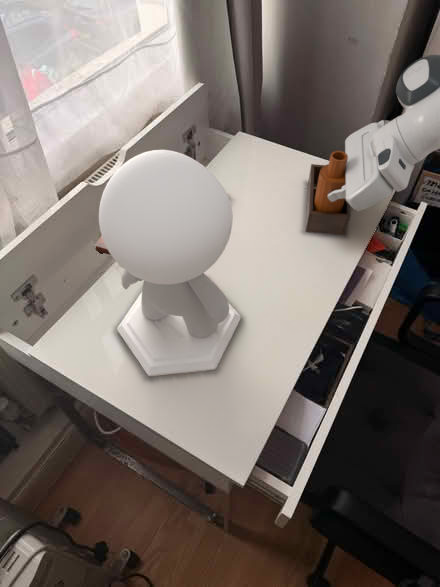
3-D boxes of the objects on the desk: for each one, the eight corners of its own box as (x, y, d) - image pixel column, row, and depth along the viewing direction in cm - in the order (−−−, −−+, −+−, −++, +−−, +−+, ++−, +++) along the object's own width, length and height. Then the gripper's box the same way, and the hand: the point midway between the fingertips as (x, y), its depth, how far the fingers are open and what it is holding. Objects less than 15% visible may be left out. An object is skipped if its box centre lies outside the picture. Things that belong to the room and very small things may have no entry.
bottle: (339, 209, 97) (355, 147, 84) (339, 228, 93) (355, 167, 80) (312, 206, 98) (323, 145, 85) (311, 225, 94) (322, 164, 81)
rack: (343, 186, 102) (348, 166, 98) (344, 235, 93) (350, 216, 89) (307, 183, 103) (311, 164, 99) (305, 231, 94) (309, 213, 90)
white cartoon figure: (252, 295, 84) (263, 138, 56) (201, 398, 72) (182, 263, 44) (162, 264, 89) (130, 105, 61) (100, 356, 77) (25, 210, 49)
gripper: (381, 105, 84) (321, 144, 93) (388, 171, 72) (318, 209, 81) (397, 127, 87) (338, 164, 96) (407, 194, 75) (338, 229, 84)
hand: (329, 185), depth 88 cm, fingers closed on bottle, 6 cm apart
